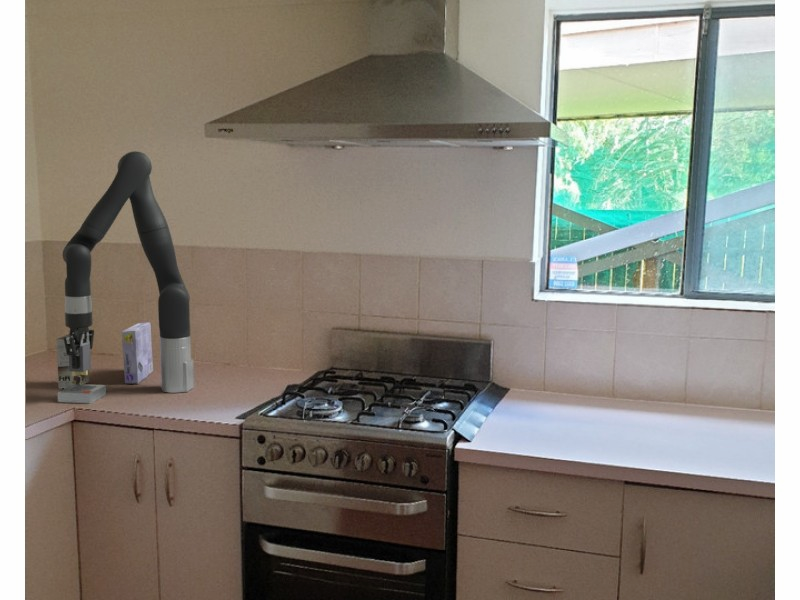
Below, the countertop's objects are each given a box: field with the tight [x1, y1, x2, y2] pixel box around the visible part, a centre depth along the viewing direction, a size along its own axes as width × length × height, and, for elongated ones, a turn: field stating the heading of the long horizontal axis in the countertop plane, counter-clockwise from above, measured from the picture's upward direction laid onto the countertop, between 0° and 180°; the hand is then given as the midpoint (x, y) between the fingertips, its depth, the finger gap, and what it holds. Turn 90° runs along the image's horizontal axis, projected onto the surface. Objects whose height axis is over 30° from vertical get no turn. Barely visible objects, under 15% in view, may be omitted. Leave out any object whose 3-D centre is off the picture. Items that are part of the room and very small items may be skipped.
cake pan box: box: [121, 322, 154, 385], centre depth 258 cm, size 19×5×18 cm, turn 2°
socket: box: [57, 383, 107, 404], centre depth 233 cm, size 10×10×4 cm
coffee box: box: [56, 333, 90, 389], centre depth 246 cm, size 9×6×16 cm
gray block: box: [69, 342, 92, 376], centre depth 231 cm, size 4×4×10 cm
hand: (80, 366), depth 232 cm, fingers closed on gray block, 4 cm apart
